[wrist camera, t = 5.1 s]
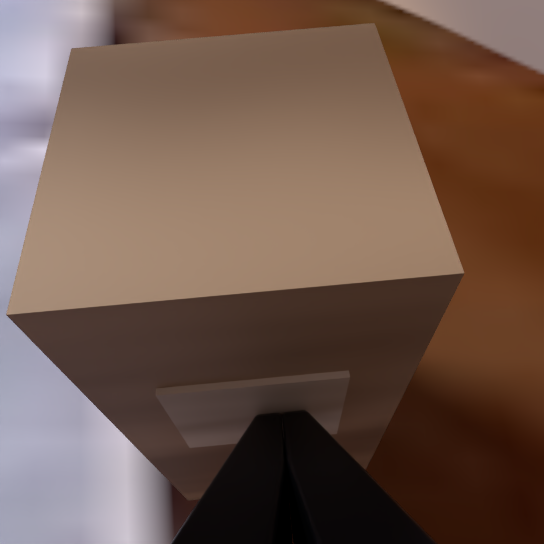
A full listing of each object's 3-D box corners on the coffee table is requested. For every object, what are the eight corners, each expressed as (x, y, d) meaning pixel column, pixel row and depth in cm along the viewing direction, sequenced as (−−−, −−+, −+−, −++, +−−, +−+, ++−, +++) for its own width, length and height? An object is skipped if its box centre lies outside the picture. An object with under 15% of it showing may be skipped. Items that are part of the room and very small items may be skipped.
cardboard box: (359, 488, 13) (466, 282, 5) (188, 504, 13) (4, 323, 5) (332, 331, 16) (374, 23, 7) (189, 344, 16) (71, 48, 7)
